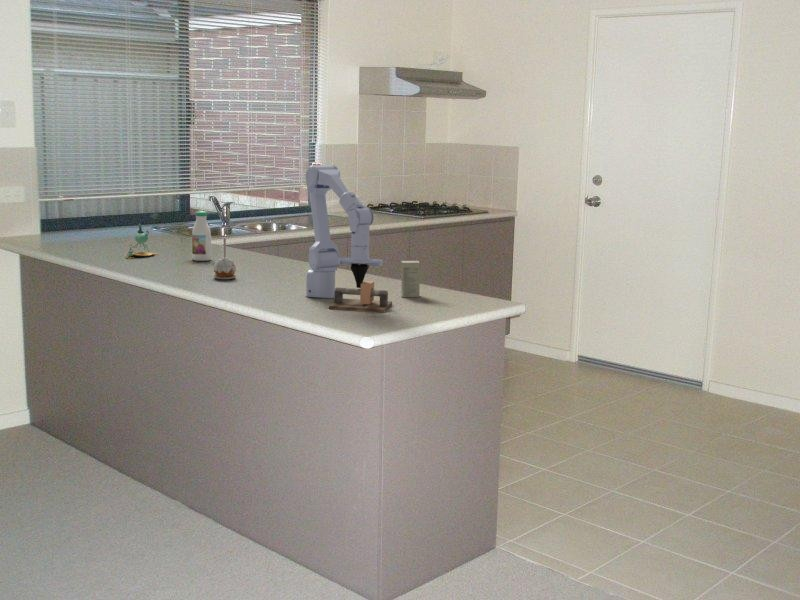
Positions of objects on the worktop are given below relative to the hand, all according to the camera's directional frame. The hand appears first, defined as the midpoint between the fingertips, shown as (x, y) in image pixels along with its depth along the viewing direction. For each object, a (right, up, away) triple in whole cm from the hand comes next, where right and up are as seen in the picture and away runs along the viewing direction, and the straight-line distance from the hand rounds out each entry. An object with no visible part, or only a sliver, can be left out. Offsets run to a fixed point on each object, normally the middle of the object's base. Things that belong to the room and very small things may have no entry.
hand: (359, 287), depth 302 cm
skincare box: (+17, -3, +21) cm, 27 cm away
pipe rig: (0, -6, +1) cm, 6 cm away
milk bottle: (-69, +12, +87) cm, 111 cm away
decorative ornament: (-52, +4, +45) cm, 69 cm away
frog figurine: (-96, +14, +92) cm, 134 cm away
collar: (+2, -5, 0) cm, 5 cm away
